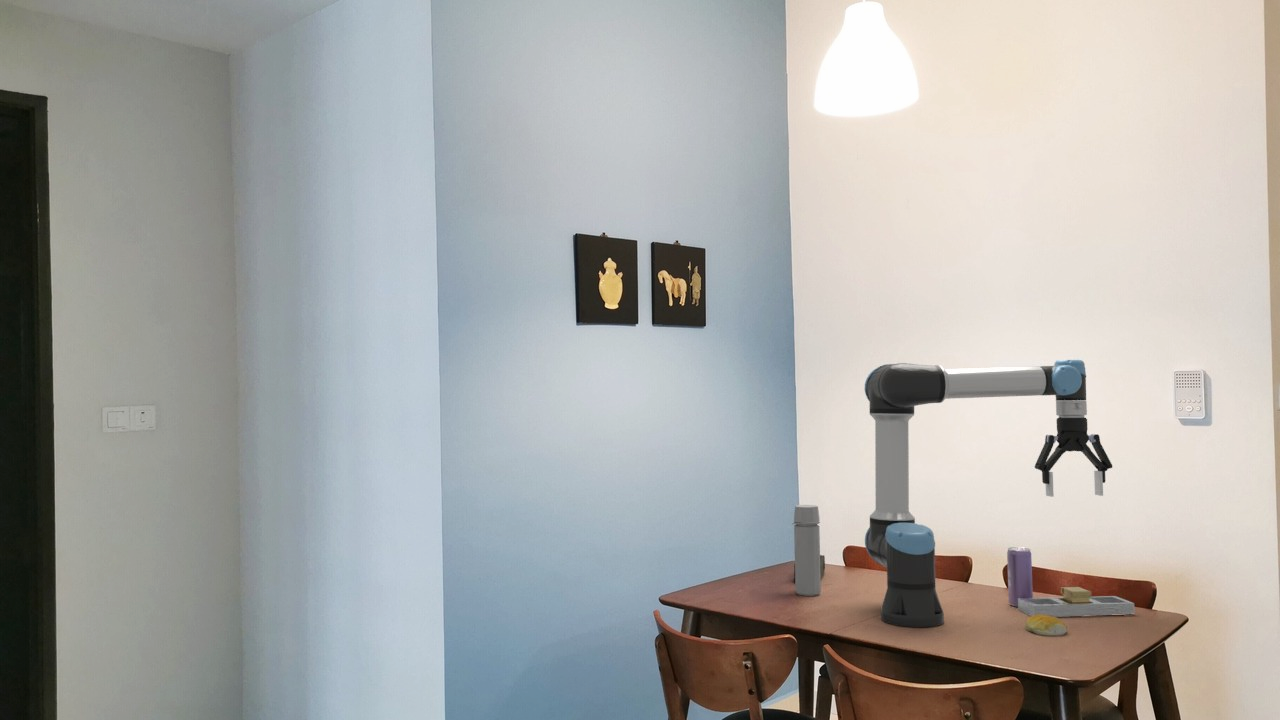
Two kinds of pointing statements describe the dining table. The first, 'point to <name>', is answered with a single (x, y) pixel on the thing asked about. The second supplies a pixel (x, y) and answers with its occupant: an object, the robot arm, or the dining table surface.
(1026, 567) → the beverage can
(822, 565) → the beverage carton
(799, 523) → the water bottle
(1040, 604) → the grey compartment tray
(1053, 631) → the bread roll
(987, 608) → the dining table surface
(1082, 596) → the pale yellow block
